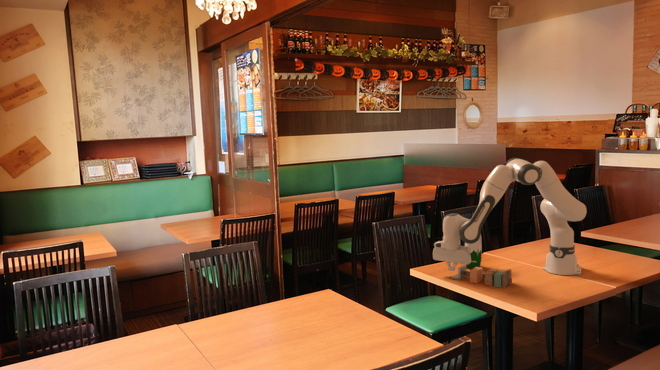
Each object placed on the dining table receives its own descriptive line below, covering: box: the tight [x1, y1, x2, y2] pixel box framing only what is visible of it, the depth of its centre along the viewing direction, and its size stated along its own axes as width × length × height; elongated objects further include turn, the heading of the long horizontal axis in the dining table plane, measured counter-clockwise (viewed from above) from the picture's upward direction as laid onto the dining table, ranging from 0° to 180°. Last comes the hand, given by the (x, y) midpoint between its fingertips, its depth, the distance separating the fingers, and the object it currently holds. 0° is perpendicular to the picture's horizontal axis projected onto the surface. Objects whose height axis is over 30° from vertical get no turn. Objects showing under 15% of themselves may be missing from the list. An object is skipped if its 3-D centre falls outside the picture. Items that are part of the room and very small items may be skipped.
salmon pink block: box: [469, 266, 484, 284], centre depth 257 cm, size 8×4×6 cm, turn 141°
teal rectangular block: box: [493, 270, 506, 288], centre depth 250 cm, size 8×4×6 cm, turn 142°
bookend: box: [451, 264, 467, 281], centre depth 263 cm, size 8×5×6 cm, turn 142°
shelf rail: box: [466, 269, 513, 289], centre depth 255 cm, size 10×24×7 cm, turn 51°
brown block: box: [484, 268, 499, 286], centre depth 253 cm, size 8×4×6 cm, turn 142°
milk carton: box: [464, 234, 483, 270], centre depth 281 cm, size 9×9×20 cm
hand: (451, 270), depth 266 cm, fingers closed
